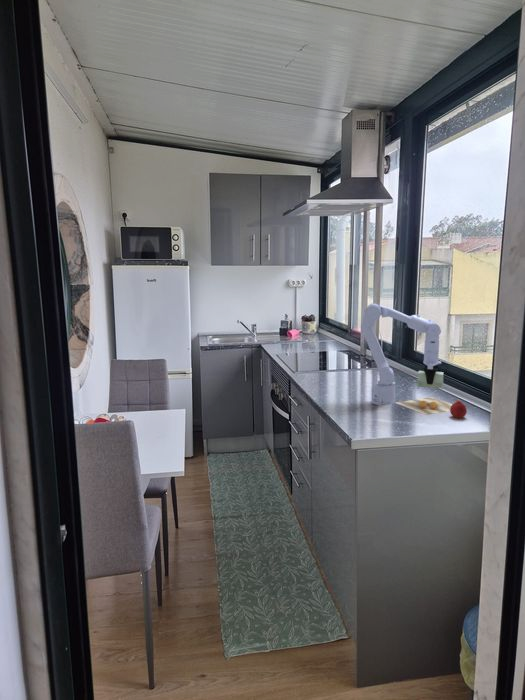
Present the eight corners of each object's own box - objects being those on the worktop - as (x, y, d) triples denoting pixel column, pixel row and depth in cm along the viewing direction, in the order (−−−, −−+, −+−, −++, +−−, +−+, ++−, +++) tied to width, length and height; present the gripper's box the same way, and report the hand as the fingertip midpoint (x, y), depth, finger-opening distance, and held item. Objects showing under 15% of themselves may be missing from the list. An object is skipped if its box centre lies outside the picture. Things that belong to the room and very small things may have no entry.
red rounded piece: (461, 417, 179) (462, 397, 178) (468, 421, 173) (470, 401, 172) (447, 417, 179) (448, 397, 177) (453, 422, 173) (454, 401, 172)
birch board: (426, 417, 179) (426, 414, 179) (394, 404, 197) (394, 402, 197) (464, 410, 187) (464, 408, 187) (431, 399, 204) (431, 397, 204)
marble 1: (422, 409, 187) (423, 402, 186) (417, 407, 189) (418, 400, 189) (428, 408, 188) (428, 401, 187) (423, 406, 191) (423, 399, 190)
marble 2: (433, 410, 185) (433, 403, 185) (427, 408, 188) (428, 401, 187) (438, 409, 186) (439, 402, 186) (433, 407, 189) (433, 400, 188)
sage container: (417, 389, 193) (417, 373, 192) (418, 386, 198) (418, 370, 197) (442, 391, 189) (443, 374, 188) (442, 388, 194) (443, 372, 193)
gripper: (441, 354, 183) (439, 387, 185) (442, 348, 196) (440, 379, 198) (422, 353, 186) (421, 386, 188) (424, 348, 199) (423, 378, 201)
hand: (430, 382), depth 193 cm, fingers closed on sage container, 6 cm apart
